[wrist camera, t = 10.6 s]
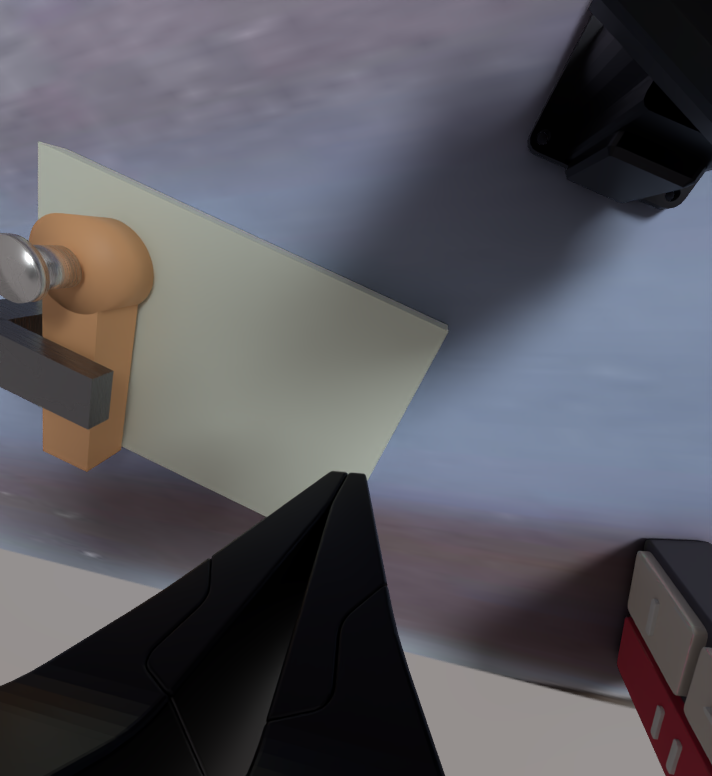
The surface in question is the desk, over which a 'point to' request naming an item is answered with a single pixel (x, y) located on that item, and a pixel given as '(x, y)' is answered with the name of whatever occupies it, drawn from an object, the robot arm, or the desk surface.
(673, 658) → the calculator
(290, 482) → the base board
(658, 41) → the robot arm
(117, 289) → the link
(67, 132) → the desk surface
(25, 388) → the keeper
